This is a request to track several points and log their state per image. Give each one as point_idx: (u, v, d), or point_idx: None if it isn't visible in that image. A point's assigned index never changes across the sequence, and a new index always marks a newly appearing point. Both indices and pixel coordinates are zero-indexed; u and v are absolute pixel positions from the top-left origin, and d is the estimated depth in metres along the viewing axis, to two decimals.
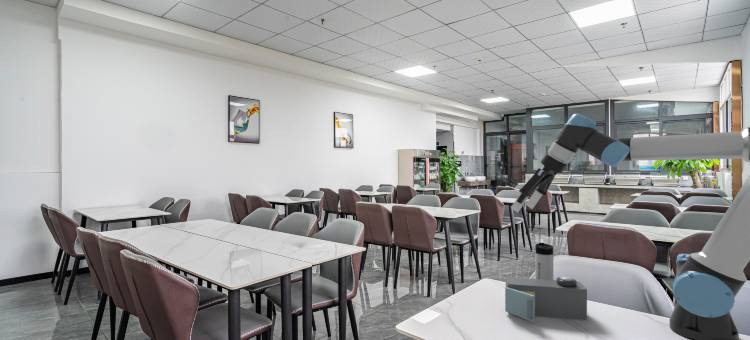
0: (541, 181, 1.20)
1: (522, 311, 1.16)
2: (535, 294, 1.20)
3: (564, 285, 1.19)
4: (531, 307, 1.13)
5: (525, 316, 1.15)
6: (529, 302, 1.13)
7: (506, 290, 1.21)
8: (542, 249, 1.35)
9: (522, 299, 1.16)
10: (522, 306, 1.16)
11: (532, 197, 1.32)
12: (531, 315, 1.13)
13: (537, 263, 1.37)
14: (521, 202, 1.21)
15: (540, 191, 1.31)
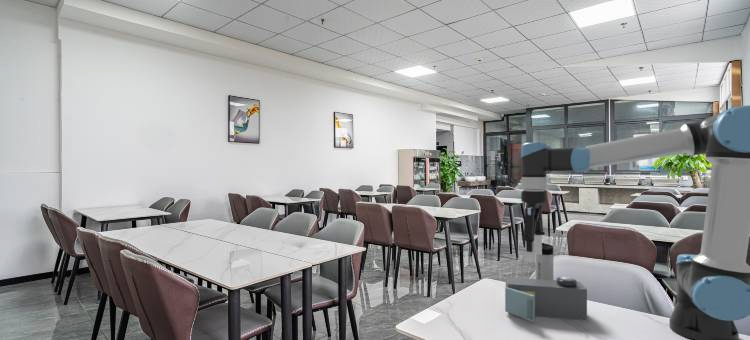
0: (535, 219, 1.13)
1: (522, 311, 1.16)
2: (535, 294, 1.20)
3: (564, 285, 1.19)
4: (531, 307, 1.13)
5: (525, 316, 1.15)
6: (529, 302, 1.13)
7: (506, 290, 1.21)
8: (542, 249, 1.35)
9: (522, 299, 1.16)
10: (522, 306, 1.16)
11: (535, 243, 1.22)
12: (531, 315, 1.13)
13: (537, 263, 1.37)
14: (531, 250, 1.11)
15: (537, 233, 1.22)
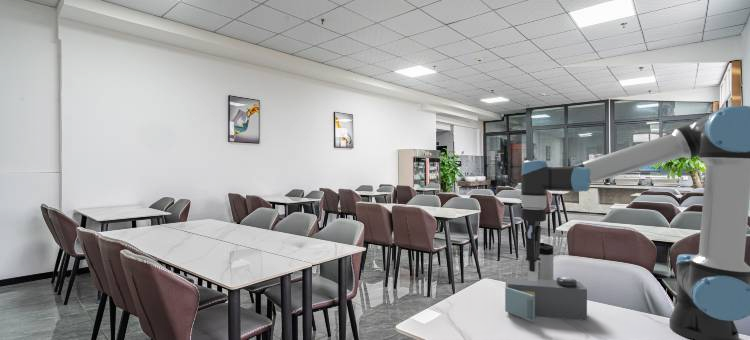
0: (535, 239, 1.15)
1: (522, 311, 1.16)
2: (535, 294, 1.20)
3: (564, 285, 1.19)
4: (531, 307, 1.13)
5: (525, 316, 1.15)
6: (529, 302, 1.13)
7: (506, 290, 1.21)
8: (542, 249, 1.35)
9: (522, 299, 1.16)
10: (522, 306, 1.16)
11: None
12: (531, 315, 1.13)
13: None
14: (534, 269, 1.16)
15: None
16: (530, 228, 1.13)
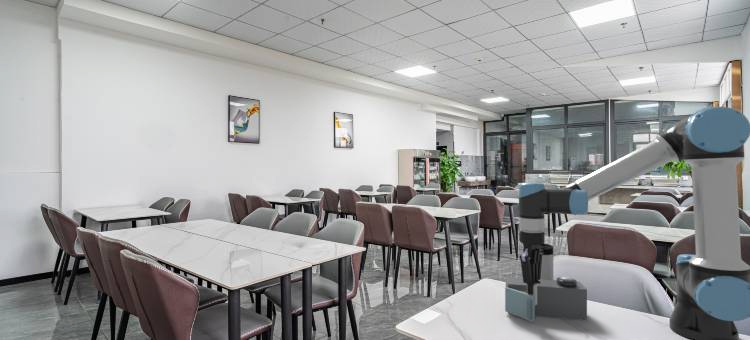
0: (533, 262, 1.14)
1: (522, 311, 1.16)
2: None
3: (564, 285, 1.19)
4: (531, 307, 1.13)
5: (525, 316, 1.15)
6: (529, 302, 1.13)
7: (506, 290, 1.21)
8: (542, 249, 1.35)
9: (522, 299, 1.16)
10: (522, 306, 1.16)
11: None
12: (531, 315, 1.13)
13: None
14: (532, 293, 1.15)
15: None
16: (525, 251, 1.13)
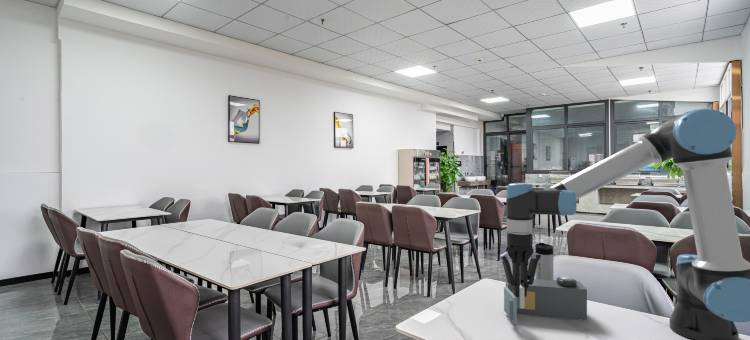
0: (516, 264, 1.12)
1: None
2: (535, 294, 1.20)
3: (564, 285, 1.19)
4: (511, 308, 1.12)
5: None
6: (509, 303, 1.12)
7: (504, 289, 1.21)
8: (542, 249, 1.35)
9: None
10: None
11: None
12: (511, 316, 1.12)
13: (537, 263, 1.37)
14: (518, 295, 1.13)
15: (522, 283, 1.13)
16: (506, 251, 1.13)
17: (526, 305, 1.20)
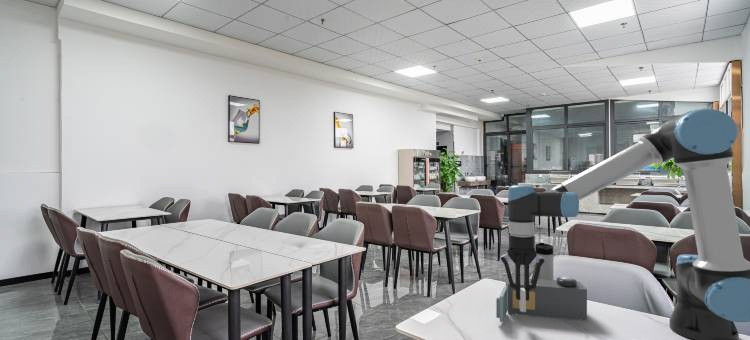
0: (516, 266, 1.12)
1: None
2: (535, 294, 1.20)
3: (564, 285, 1.19)
4: (498, 306, 1.14)
5: None
6: None
7: None
8: (542, 249, 1.35)
9: None
10: None
11: None
12: (497, 314, 1.14)
13: None
14: (519, 298, 1.12)
15: (524, 286, 1.12)
16: (507, 253, 1.13)
17: (526, 305, 1.20)
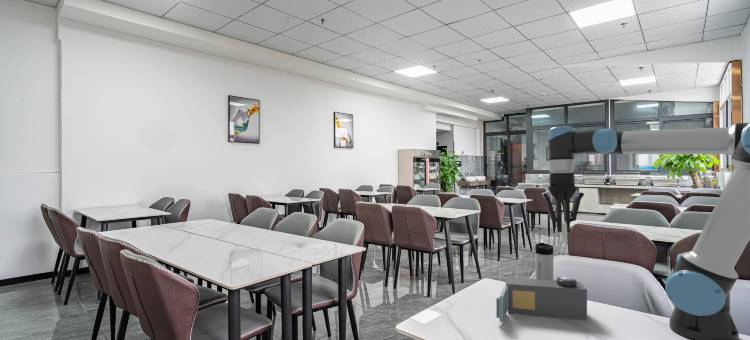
0: (557, 201, 1.21)
1: None
2: (535, 294, 1.20)
3: (564, 285, 1.19)
4: (498, 306, 1.14)
5: None
6: None
7: None
8: (542, 249, 1.35)
9: None
10: None
11: None
12: (497, 314, 1.14)
13: (537, 263, 1.37)
14: (560, 230, 1.22)
15: (565, 219, 1.22)
16: (548, 190, 1.23)
17: (526, 305, 1.20)
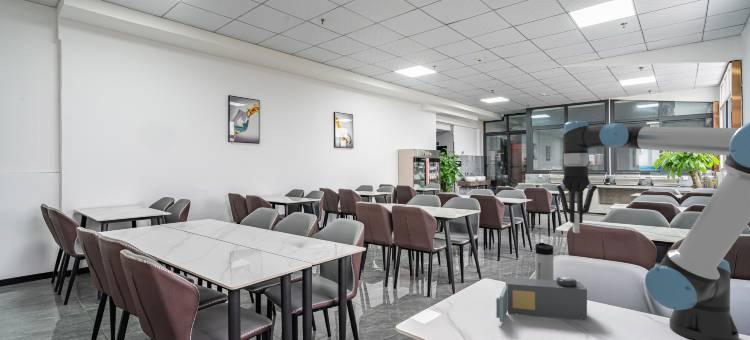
0: (570, 193, 1.26)
1: None
2: (535, 294, 1.20)
3: (564, 285, 1.19)
4: (498, 306, 1.14)
5: None
6: None
7: None
8: (542, 249, 1.35)
9: None
10: None
11: None
12: (497, 314, 1.14)
13: (537, 263, 1.37)
14: (573, 221, 1.27)
15: (578, 211, 1.27)
16: (562, 182, 1.28)
17: (526, 305, 1.20)
